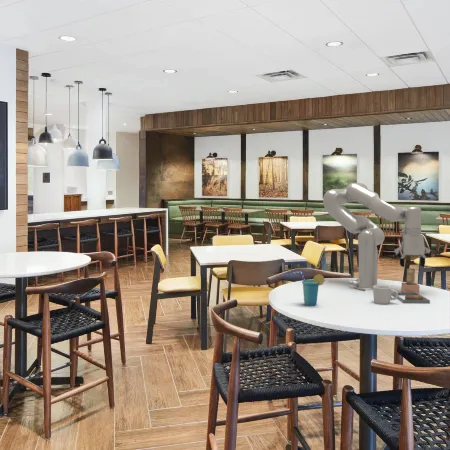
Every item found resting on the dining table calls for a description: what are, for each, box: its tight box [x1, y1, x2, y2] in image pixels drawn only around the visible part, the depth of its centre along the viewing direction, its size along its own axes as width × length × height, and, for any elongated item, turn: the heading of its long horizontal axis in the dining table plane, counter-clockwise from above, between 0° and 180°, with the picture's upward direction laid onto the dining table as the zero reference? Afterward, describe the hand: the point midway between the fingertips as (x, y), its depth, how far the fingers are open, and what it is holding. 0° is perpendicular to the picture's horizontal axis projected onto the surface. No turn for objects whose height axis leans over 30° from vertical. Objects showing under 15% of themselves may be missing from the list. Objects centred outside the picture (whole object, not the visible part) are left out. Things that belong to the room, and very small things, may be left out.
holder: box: [401, 281, 420, 294], centre depth 230 cm, size 6×6×6 cm
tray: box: [391, 291, 431, 305], centre depth 218 cm, size 12×16×2 cm
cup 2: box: [372, 284, 399, 305], centre depth 210 cm, size 11×8×8 cm
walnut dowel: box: [404, 294, 424, 300], centre depth 213 cm, size 7×3×3 cm, turn 89°
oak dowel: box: [406, 268, 416, 285], centre depth 230 cm, size 4×4×12 cm
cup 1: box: [292, 270, 325, 307], centre depth 209 cm, size 14×8×15 cm, turn 78°
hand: (412, 266), depth 229 cm, fingers open, 9 cm apart
